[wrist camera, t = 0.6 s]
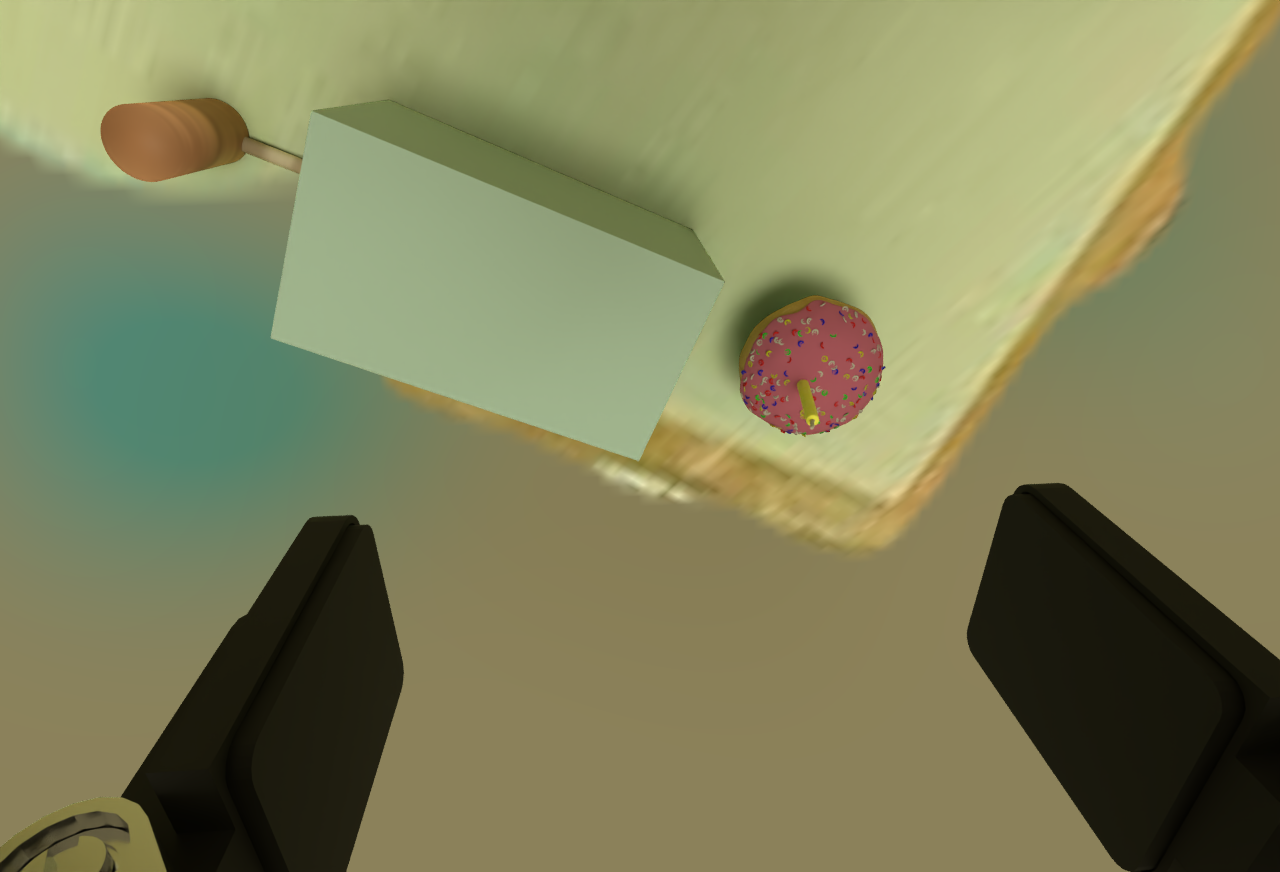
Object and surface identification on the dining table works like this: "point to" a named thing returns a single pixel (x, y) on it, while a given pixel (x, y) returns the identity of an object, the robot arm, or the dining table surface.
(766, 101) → the dining table surface
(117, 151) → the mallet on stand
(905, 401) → the dining table surface
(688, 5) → the dining table surface
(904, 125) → the dining table surface
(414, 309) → the plain rectangular box
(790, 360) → the cupcake
